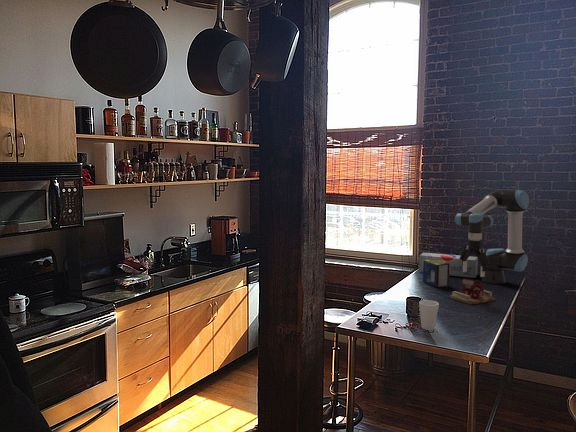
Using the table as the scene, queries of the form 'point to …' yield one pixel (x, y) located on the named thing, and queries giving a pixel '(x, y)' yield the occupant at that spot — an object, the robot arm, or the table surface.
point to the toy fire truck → (472, 288)
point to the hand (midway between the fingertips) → (473, 274)
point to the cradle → (469, 299)
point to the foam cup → (428, 314)
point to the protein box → (436, 273)
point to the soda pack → (452, 264)
